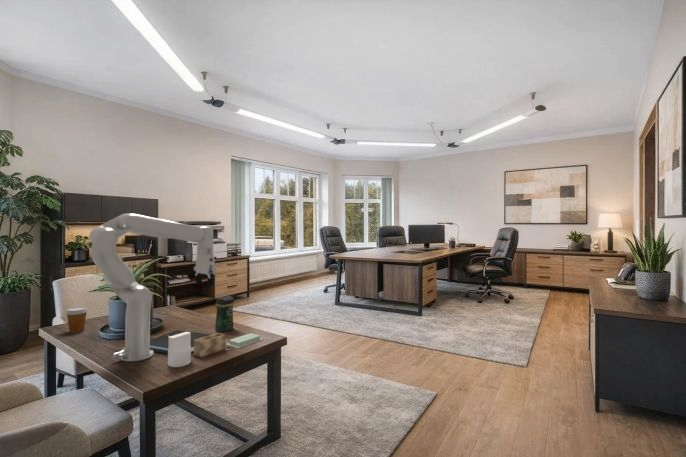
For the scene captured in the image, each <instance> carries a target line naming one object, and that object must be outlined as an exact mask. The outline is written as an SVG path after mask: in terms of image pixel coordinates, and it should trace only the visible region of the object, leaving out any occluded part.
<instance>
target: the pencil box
mask: <svg viewBox="0 0 686 457" xmlns="http://www.w3.org/2000/svg"><path fill="white" fill-rule="evenodd" d="M225 350H226V334H224V333H222V332H221V333H220V332H217V333H213V334H210V335H207V336H203V337H200V338H197V339H194V340H193V356H195V357H197V358H206V357H207V356H210V355H213V354H215V353H219V352H222V351H225Z"/></svg>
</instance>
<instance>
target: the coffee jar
mask: <svg viewBox="0 0 686 457" xmlns="http://www.w3.org/2000/svg"><path fill="white" fill-rule="evenodd" d="M215 300H216V301H215V306H216V307H215V308H216V317H215V325H214V330H215V331H216V332H217V333H220V332H221V333H222V332H223V333H224V332H229V331H231V330H233V329H234V312H233V311H234V304H235V298H234V296H230V295H226V296H222V297H217V298H216V299H215Z"/></svg>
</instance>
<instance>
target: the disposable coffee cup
mask: <svg viewBox="0 0 686 457" xmlns="http://www.w3.org/2000/svg"><path fill="white" fill-rule="evenodd" d="M87 313H88V307H85V306H74V307H70V308H67V309H66V311H65V314H66V318H67V325H68V331H69V333H80V332H83V331H84V330H85V326H86V319H87Z"/></svg>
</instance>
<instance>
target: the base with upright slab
mask: <svg viewBox="0 0 686 457" xmlns="http://www.w3.org/2000/svg"><path fill="white" fill-rule="evenodd" d="M191 333H192V332H190V331H185V332H180V333H177V334H173V335H171V336H168V349H167V366H168V367H170V368H181V367H184V366H187V365H190V364H191V363H192V346H191V344H192V343H191V339H192V338H191Z"/></svg>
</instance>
